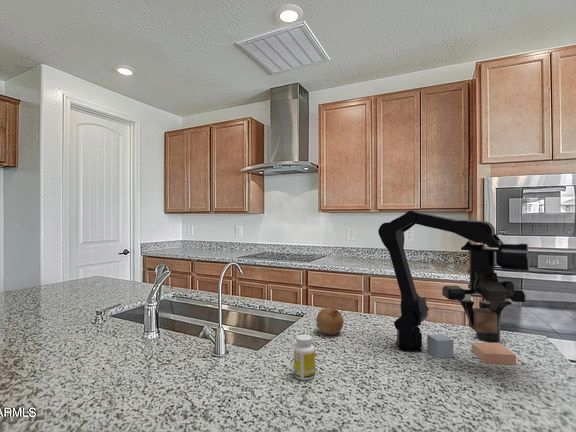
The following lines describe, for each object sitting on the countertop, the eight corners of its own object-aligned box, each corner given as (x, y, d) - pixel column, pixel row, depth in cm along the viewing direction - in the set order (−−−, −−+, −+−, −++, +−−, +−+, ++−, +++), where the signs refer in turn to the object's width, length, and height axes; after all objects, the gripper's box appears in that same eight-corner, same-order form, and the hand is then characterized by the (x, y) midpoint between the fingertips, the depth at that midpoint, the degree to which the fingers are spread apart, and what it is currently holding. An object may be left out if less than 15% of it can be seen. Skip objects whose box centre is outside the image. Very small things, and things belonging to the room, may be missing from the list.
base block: (485, 364, 87) (484, 353, 87) (471, 352, 95) (471, 342, 95) (516, 365, 86) (516, 354, 86) (500, 353, 94) (499, 343, 94)
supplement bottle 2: (504, 343, 101) (503, 305, 101) (480, 341, 102) (480, 304, 103) (494, 335, 108) (494, 300, 108) (472, 334, 109) (472, 299, 109)
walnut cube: (476, 332, 83) (476, 313, 83) (468, 326, 88) (468, 307, 88) (497, 333, 82) (497, 314, 83) (488, 326, 87) (487, 308, 87)
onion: (339, 344, 108) (348, 322, 105) (312, 337, 109) (320, 314, 105) (338, 326, 117) (346, 304, 114) (313, 319, 117) (321, 297, 114)
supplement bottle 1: (317, 372, 83) (317, 334, 83) (312, 382, 78) (311, 342, 78) (297, 369, 84) (297, 332, 85) (291, 379, 79) (290, 339, 79)
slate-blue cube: (437, 358, 91) (437, 340, 91) (427, 351, 96) (427, 334, 96) (453, 357, 91) (453, 339, 91) (442, 350, 96) (442, 333, 96)
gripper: (456, 271, 79) (456, 334, 79) (538, 273, 76) (539, 338, 76) (441, 265, 90) (441, 320, 90) (513, 266, 87) (513, 323, 87)
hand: (482, 325), depth 85 cm, fingers closed on walnut cube, 5 cm apart
